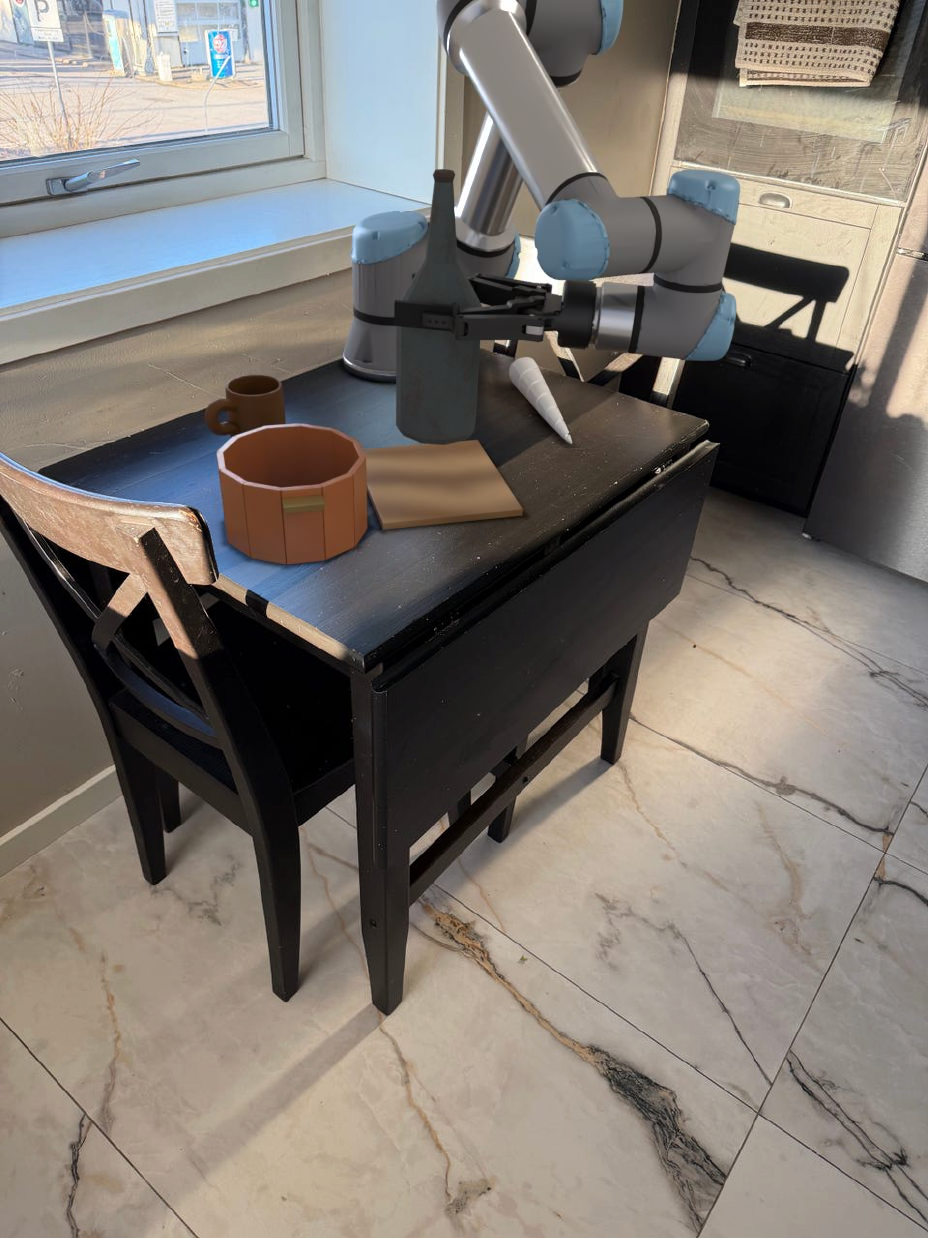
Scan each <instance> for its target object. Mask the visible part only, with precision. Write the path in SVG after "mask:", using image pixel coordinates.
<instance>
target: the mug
mask: <svg viewBox="0 0 928 1238" xmlns="http://www.w3.org/2000/svg"><path fill="white" fill-rule="evenodd" d="M284 395H285V394H284V389H283V383H282V382H281V380H280V379H278V378H276V377H274V376H270V375H266V374H244V375H240V376H236V377H234V378H232V379H230V380H228V382H227V383H226V385H225V398H224V397H223V398H222V397H219V398H216V399H214V400H212V401H211V402H210V403H209V404H208V405H207V407H206V409H205V413H204V421H205V424H206V427H207V429H208V430H209V431H210V432H211V433H212V434H214V435H216V436H220V437H223V436H229V438H230V439H231V438H232V437H234V436H236V435H239V434H242V433H245V432H248V431H251V430H254V429H257V428H260V427H263V426H268V425H282V424H287V419H286V418H287V417H286V408H285V407H286V406H285V396H284ZM221 411H224V412H226V413H227V421H223V422H219V421H220V420H218V419H219V418H218V415H219V413H220V412H221Z"/></svg>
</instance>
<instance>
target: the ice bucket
mask: <svg viewBox="0 0 928 1238" xmlns="http://www.w3.org/2000/svg"><path fill="white" fill-rule="evenodd" d="M363 449H364V448H363V447H362V444H361V442H360V440H358V439H356V438H355V437H352V436H350V435H348V434H346V433H344V432H342V431H340V430H338V429H337V428H335V427H328V426H321V425H315V424H308V423H299V422H298V423H286V424H282V425H268V426H263V427H260V428H257V429H254V430H251V431H248V432H245V433H242V434H239V435H236V436H234V437H232V438H230V439H228V440H227V442H225V443H224V444H223V445H222V446H221V447H220V448H219V449H218V450H217V451H216V452H215V456H216V461H217V463H216V464H217V470H218V471H217V472H218V479H219V487H220V494H221V502H222V511H223V518H224V526H225V533H226V540H227V542H228V544H229V545H231V546H232V547H234V548H235V549H237V550H238V551H240V552H241V553H242V554H243V555H245V556H247V557H248V558H251V559H253V560H254V559H255V560H259V561H264V562H269V563H270V562H271V563H275V564H281V565H287V566H288V565H297V564H307V563H315V562H324V561H328V560H330V559H332V558H334V557H336V556H338V555H340V554H342V553H344V552H346V551H349V550H352V549H354V548H355V547H356V546H357V545H358V544H359V542H360V541H361V539H362V537H363V536H364V534H365V533H366V531H367V530H368V492H367V472H366V456H365V453H364V451H363Z"/></svg>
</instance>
